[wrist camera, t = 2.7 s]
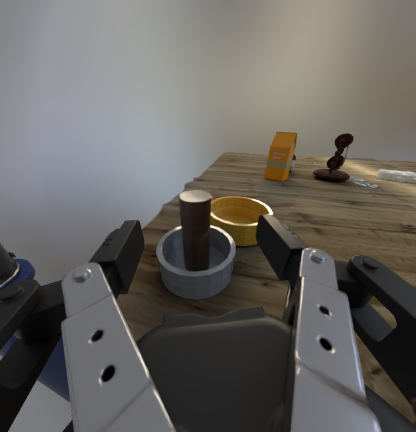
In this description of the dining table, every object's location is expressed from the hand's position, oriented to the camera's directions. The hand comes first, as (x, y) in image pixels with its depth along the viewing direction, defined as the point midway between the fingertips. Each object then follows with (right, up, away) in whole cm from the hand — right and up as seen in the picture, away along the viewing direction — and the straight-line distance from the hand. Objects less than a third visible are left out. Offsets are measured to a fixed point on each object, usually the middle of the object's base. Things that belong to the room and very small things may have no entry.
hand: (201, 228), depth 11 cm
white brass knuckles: (+96, +19, +69) cm, 120 cm away
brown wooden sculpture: (+61, +19, +68) cm, 94 cm away
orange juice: (+34, +19, +68) cm, 78 cm away
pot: (-1, -8, +17) cm, 19 cm away
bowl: (+8, -2, +28) cm, 29 cm away
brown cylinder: (-1, -8, +17) cm, 19 cm away
